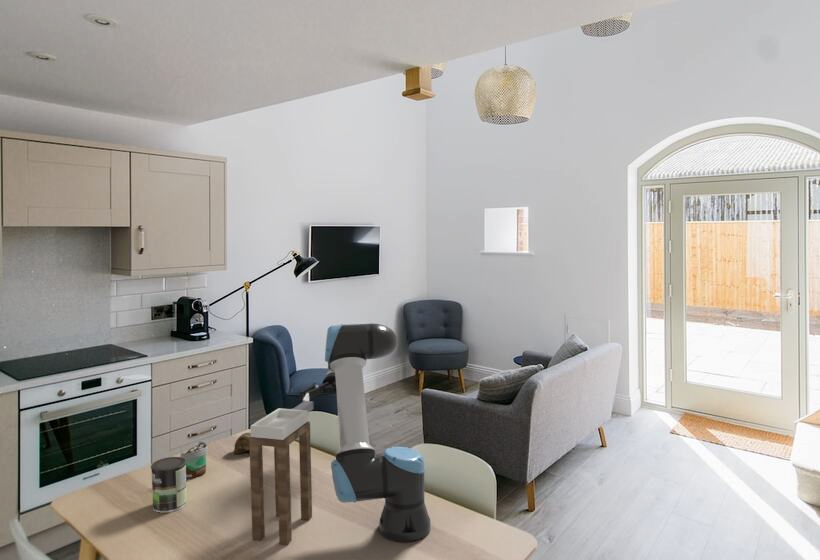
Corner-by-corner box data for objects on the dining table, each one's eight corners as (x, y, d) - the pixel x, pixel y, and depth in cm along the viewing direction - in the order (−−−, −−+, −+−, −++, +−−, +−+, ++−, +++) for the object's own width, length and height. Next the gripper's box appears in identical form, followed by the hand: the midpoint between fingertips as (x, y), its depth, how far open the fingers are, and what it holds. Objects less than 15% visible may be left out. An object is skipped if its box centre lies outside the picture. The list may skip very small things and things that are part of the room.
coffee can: (160, 516, 165) (158, 472, 164) (147, 505, 172) (145, 463, 171) (193, 504, 173) (191, 462, 172) (179, 494, 180) (177, 453, 179)
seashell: (266, 448, 220) (266, 429, 219) (255, 457, 211) (254, 437, 210) (242, 446, 222) (241, 427, 222) (229, 455, 213) (229, 435, 213)
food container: (196, 482, 189) (195, 454, 188) (181, 481, 190) (179, 453, 190) (215, 467, 201) (214, 441, 200) (201, 466, 202) (200, 440, 202)
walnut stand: (279, 512, 167) (277, 418, 165) (312, 516, 165) (310, 421, 162) (252, 540, 152) (249, 437, 150) (287, 545, 149) (284, 440, 147)
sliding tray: (295, 407, 176) (295, 398, 176) (323, 409, 173) (323, 400, 173) (250, 436, 150) (250, 425, 149) (283, 440, 147) (282, 428, 147)
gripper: (366, 390, 204) (360, 413, 183) (301, 391, 204) (288, 414, 183) (365, 371, 203) (359, 392, 182) (300, 372, 203) (286, 393, 182)
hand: (323, 403), depth 182 cm, fingers open, 13 cm apart
